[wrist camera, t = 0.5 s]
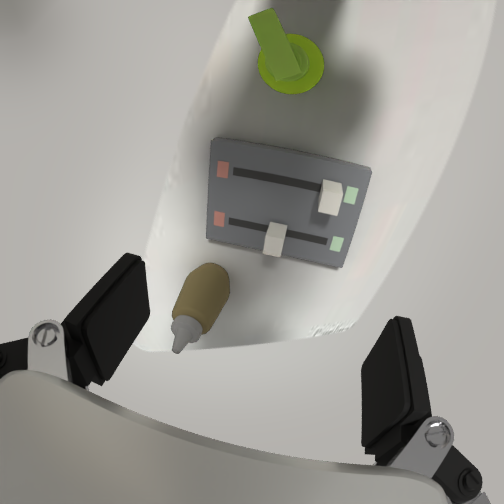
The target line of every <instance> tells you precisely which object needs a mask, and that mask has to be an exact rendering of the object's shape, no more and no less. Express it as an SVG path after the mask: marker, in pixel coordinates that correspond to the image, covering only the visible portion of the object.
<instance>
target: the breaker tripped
mask: <svg viewBox="0 0 504 504" xmlns="http://www.w3.org/2000/svg"><path fill="white" fill-rule="evenodd" d="M286 230H287V225H284V224H279V223H274V222H270V224H269V227H268V230H267V233H266V236H265V243H264V249H263V254H266V255H271V256H275V257H281V253H282V249H283V244H284V240H285V235H286Z"/></svg>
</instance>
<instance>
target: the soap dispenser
mask: <svg viewBox="0 0 504 504" xmlns="http://www.w3.org/2000/svg"><path fill="white" fill-rule="evenodd" d="M248 18H249V21H250V23H251V26H252V28H253V30H254V33H255V35H256V37H257V40H258V42H259V44H260V46H261V51H260V53H259V57H258V69H259V73H260V75H261V77H262V79H263V80H264V81H265V83H266V84H267V85H269V86H270V87H271V88H273V89H274V90H276V91H278V92H281V93H285V94H299V93H303V92H306V91H308V90H310V89H311V88H313V87H314V86H315V85H316V84H317V83H318V82H319V80H320V79H321V77H322V74H323V71H324V59H323V56H322V53H321V51H320V50H319V48H318V47H317V46H316V45H315V44H314V43H313V42H312V41H311V40H309V39H308V38H306V37H304V36H301V35H297V34H285V32H284V30H283V27H282V25H281V23H280V21H279V19H278V17H277V15H276V13H275V11H274V9H273V8H270V9H267V10H264V11H262V12H259V13H256V14H254V15H251V16H249V17H248Z"/></svg>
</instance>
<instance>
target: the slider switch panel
mask: <svg viewBox="0 0 504 504" xmlns="http://www.w3.org/2000/svg"><path fill="white" fill-rule="evenodd" d="M371 174H372V171H371V169H370V167H366V166H362V165H358V164H354V163H350V162H346V161H342V160H338V159H334V158H329V157H325V156H320V155H316V154H311V153H306V152H301V151H296V150H291V149H286V148H281V147H275V146H269V145H264V144H258V143H251V142H245V141H238V140H231V139H224V138H214V139H213V140H211V152H210V167H209V184H208V203H207V226H206V238H207V239H211V240H216V241H220V242H225V243H230V244H234V245H239V246H244V247H248V248H253V249H258V250H262V251H263V249H264V243H265V236H266V233H267V230H268V227H269V224H270V222H274V223H279V224H284V225H287V230H286V235H285V240H284V244H283V249H282V253H281V255H285V256H290V257H294V258H299V259H304V260H308V261H313V262H317V263H322V264H326V265H331V266H336V267H340V268H342V267H343V264H344V261H345V258H346V255H347V252H348V250H349V247H350V244H351V241H352V237H353V234H354V231H355V228H356V225H357V222H358V219H359V215H360V212H361V209H362V206H363V202H364V199H365V195H366V192H367V188H368V185H369V181H370V178H371ZM323 179H325V180H329V181H334V182H338V183H341V184H342V191H343V197H342V201H341V204H340V208H339V212H338V215H337V216H335V215H330V214H326V213H322V212H318V201H319V195H320V191H321V187H322V182H323Z"/></svg>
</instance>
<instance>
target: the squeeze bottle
mask: <svg viewBox="0 0 504 504" xmlns="http://www.w3.org/2000/svg"><path fill="white" fill-rule="evenodd" d="M229 293H230V288H229V277H228V274H227V272H226V271H225V270H224V268H222V267H221V266H219V265H217V264H214V263H206V264H204V265H201V266H200V267H198V268H197V269H195V270H194V271H192V272H190V274H189V275H188V276H187V278H186V280H185V282H184V285H183V287H182V289H181V292H180V294H179V296H178V299H177V301H176V303H175V306H174V308H173V311H172V318H173V320H174V321H173V323H172V325H171V330H172V332H173V334H174V335H175V339H174V343H173V348H172V351H173V352H174V353H176V354H179V353H180V352H181V351H182V350H183V348H184V347H185V346H186V345H187V344H188V343H194V342H197V341H198V340H199V338H200V336H201V335H202V334H206V333H207V332H208V331H209V330H210V329H211V327H212V325H213V324H214V322H215V320H216V318H217V317H218V315H219V313H220V312H221V310H222V308H223V307H224V305H225V303H226V301H227V300H228V297H229Z"/></svg>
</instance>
